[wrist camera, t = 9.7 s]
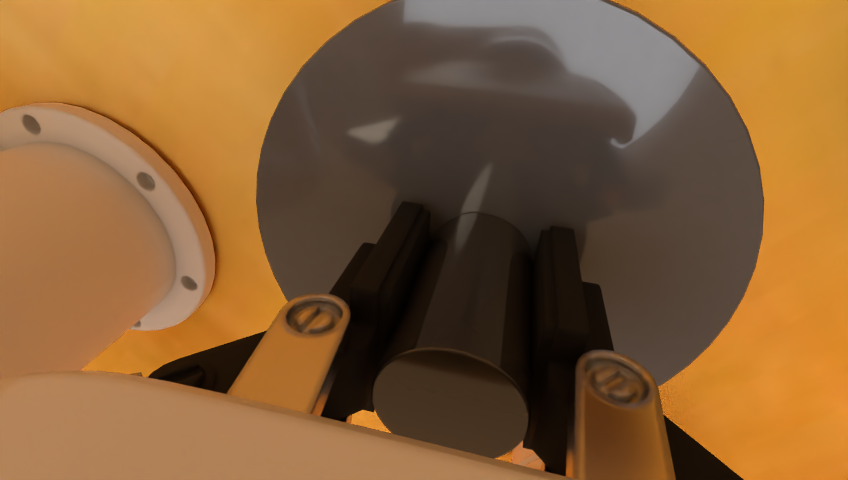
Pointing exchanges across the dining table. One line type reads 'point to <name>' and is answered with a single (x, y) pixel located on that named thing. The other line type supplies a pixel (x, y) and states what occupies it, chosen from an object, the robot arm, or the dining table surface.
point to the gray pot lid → (512, 192)
